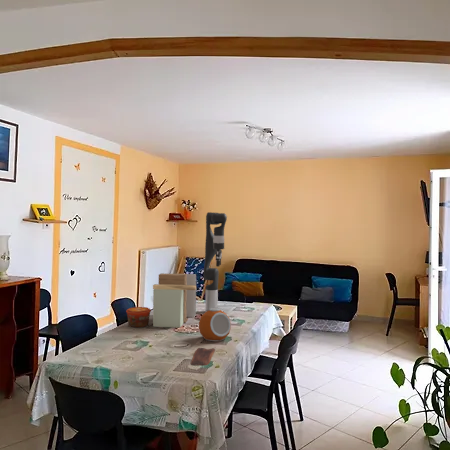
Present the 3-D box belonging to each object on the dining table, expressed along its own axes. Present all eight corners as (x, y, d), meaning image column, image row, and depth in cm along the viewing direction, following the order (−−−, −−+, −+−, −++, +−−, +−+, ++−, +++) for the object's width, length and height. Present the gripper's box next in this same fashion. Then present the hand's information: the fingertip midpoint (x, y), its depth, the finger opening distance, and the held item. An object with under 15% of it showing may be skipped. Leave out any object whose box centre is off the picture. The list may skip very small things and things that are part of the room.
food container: (120, 326, 276) (120, 310, 276) (136, 321, 290) (136, 305, 290) (140, 329, 268) (140, 312, 268) (155, 324, 282) (155, 308, 282)
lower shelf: (156, 323, 286) (157, 287, 285) (183, 324, 284) (183, 288, 283) (153, 326, 277) (153, 289, 276) (180, 327, 275) (180, 290, 274)
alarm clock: (208, 344, 239) (208, 313, 239) (193, 336, 254) (193, 307, 253) (236, 339, 249) (236, 309, 249) (220, 332, 264) (221, 304, 264)
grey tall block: (195, 315, 309) (196, 274, 309) (194, 317, 303) (194, 275, 303) (176, 314, 310) (176, 273, 310) (174, 316, 305) (175, 274, 304)
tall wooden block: (159, 318, 298) (160, 273, 297) (188, 319, 296) (188, 273, 295) (156, 322, 289) (156, 274, 288) (185, 323, 287) (185, 275, 286)
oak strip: (154, 288, 283) (154, 284, 283) (196, 289, 280) (196, 285, 280) (153, 288, 279) (153, 285, 279) (195, 290, 276) (195, 286, 276)
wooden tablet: (208, 364, 203) (188, 360, 205) (207, 368, 203) (187, 365, 205) (216, 347, 230) (197, 344, 231) (215, 352, 230) (197, 348, 231)
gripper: (214, 241, 300) (214, 264, 300) (212, 242, 286) (211, 266, 286) (225, 241, 299) (225, 264, 300) (223, 242, 285) (222, 267, 285)
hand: (218, 265), depth 293 cm, fingers open, 8 cm apart
